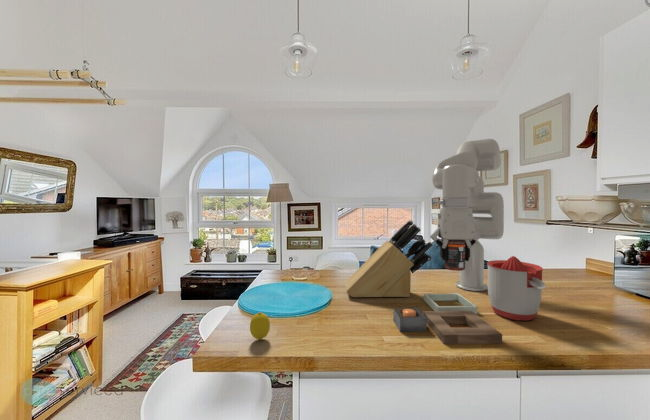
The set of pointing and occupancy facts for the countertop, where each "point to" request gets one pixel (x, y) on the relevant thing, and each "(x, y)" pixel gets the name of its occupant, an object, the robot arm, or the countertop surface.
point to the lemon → (259, 326)
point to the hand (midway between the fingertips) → (454, 259)
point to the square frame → (474, 335)
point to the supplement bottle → (455, 255)
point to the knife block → (390, 267)
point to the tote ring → (445, 297)
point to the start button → (409, 312)
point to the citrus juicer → (515, 288)
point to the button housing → (410, 321)
